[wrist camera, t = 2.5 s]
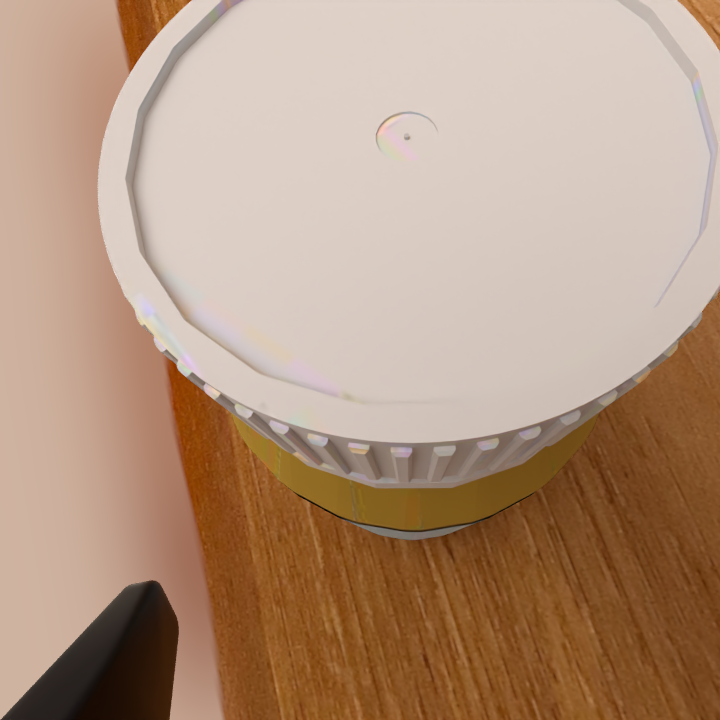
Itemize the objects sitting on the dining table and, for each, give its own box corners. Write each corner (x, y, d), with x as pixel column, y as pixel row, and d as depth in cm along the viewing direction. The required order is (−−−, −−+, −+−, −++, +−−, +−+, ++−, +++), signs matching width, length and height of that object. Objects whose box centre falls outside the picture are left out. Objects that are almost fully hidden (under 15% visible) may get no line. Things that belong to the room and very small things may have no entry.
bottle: (302, 364, 20) (63, -46, 6) (483, 332, 20) (650, -165, 6) (326, 555, 18) (25, 579, 4) (531, 521, 18) (992, 418, 4)
